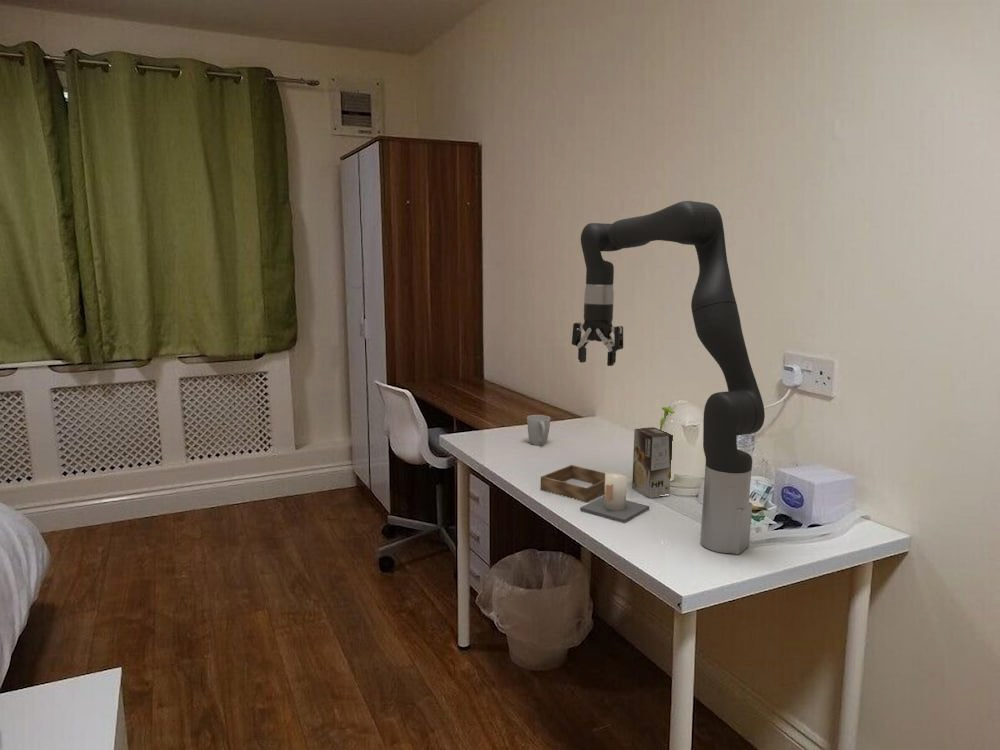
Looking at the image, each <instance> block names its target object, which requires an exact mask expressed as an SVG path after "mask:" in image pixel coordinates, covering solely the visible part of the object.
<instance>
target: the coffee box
mask: <svg viewBox="0 0 1000 750" xmlns="http://www.w3.org/2000/svg"><path fill="white" fill-rule="evenodd" d="M633 435H634V436H633V437H634V438H633V456H632V461H633V462H632V477H631V478H632V480H631V488H632V489H633V488H634V489H633V490H634V491H638V492H639V493H641V495H644V496H646V497H647V498H649V499H653V498H654V497H655V498H659V497H658V496H660V495H665V494H671V482H670V478H671V460H672V441H673V435H671V434H669V433H667V432H664V431H662V430H660V428H657V427H652V426H651V427H640V428H635V429H634V433H633ZM655 498H654V499H655Z"/></svg>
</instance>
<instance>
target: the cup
mask: <svg viewBox="0 0 1000 750" xmlns="http://www.w3.org/2000/svg"><path fill="white" fill-rule="evenodd" d="M526 423H527V424H526V425H527V434H528V442H529V444H530V445H532V444H534V445H533V446H544V445H543V444H545V445H547V443H548V438H549V433H550V425H551V416H548V415H544V414H532V415H527V416H526Z"/></svg>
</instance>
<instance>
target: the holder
mask: <svg viewBox="0 0 1000 750" xmlns="http://www.w3.org/2000/svg"><path fill="white" fill-rule="evenodd" d="M605 473H606V472H604V471H603V472H601V471H599V470H594V469H589V468H586V467H581V466H577V465H573V464H570V465H568V466H567V465H566V466H565V467H563V468H560V469H557V470H555V471H552V472H550V473H548V474H545V475H542V476H540V485H539V487H540V491H543V490H544V491H543V492H547V491H548V492H547V493H550V492H552V493H551V494H554V493H555V495H558V494H559V496H561V495H563V496H562V497H565V496H567V497H566V498H569V497H570V499H572V498H574V499H573V500H576V499H577V500H576V501H580V500H581V501H580V502H583V501H584V502H583V503H588V502H589V503H590V502H592V501H594V500H596V499H598V498H600V497H602V496H604V491H605ZM570 478H571V479H573V480H577V479H578V480H577V481H581V482H586V483H589V484H592V485H590V486H587V487H585V486H580V485H577V484H575V483H569V482H565V481H569V480H571V479H570ZM563 481H564V482H563Z"/></svg>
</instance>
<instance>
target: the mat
mask: <svg viewBox="0 0 1000 750" xmlns="http://www.w3.org/2000/svg"><path fill="white" fill-rule="evenodd" d="M580 510H581V511H580ZM649 510H650V505H648V504H643V503H638V502H635V501H631V500H627V499H626V508H625V509H624V510H619V511H615V510H609V509H606V508H605V507H604V495H602V496H600V497H598V498H596V499H594V500H592V501H590V502H589V503H587V504H585V505H583V506H580V508H579V511H580V512H583V511H584V513H587V514H591V515H594V516H598V517H601V518H605V519H609V520H612V521H615V522H619V523H622V524H626V523H627V522H629V521H631V520H633V519H635V518H636V517H638V516H640V515H641V514H644V513H645V512H647V511H649Z"/></svg>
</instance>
